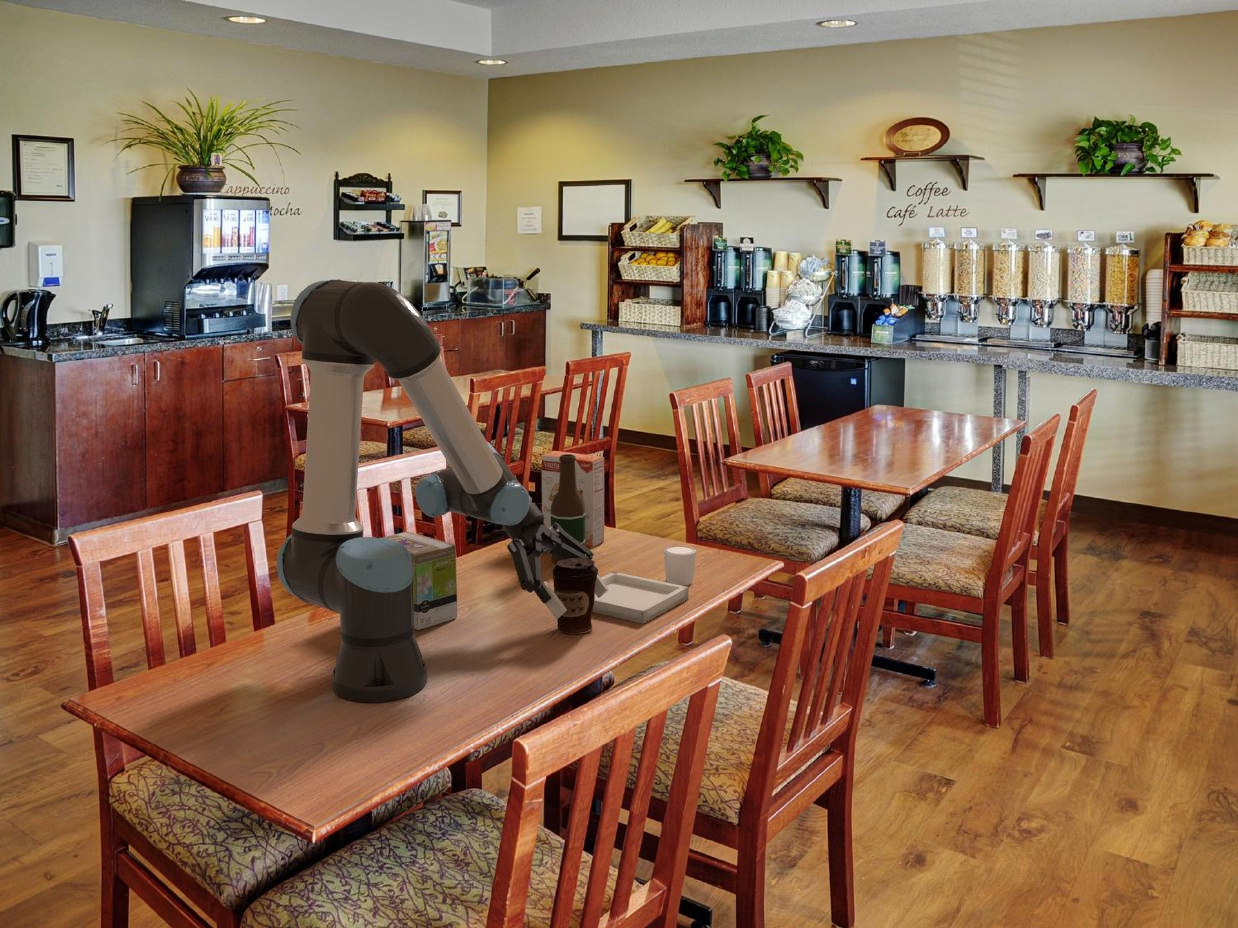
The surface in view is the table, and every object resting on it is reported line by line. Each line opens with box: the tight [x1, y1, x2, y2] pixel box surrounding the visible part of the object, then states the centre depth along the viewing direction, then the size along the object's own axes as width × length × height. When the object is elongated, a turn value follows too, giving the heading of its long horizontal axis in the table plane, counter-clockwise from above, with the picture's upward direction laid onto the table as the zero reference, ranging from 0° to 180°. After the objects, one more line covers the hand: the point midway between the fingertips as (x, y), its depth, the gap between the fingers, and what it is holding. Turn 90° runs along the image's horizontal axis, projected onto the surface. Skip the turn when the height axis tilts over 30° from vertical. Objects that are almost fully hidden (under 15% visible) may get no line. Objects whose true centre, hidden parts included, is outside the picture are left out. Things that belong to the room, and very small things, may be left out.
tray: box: [592, 571, 690, 625], centre depth 222 cm, size 17×18×2 cm
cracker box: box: [541, 450, 605, 549], centre depth 262 cm, size 14×6×21 cm, turn 61°
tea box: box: [377, 531, 458, 631], centre depth 213 cm, size 15×10×15 cm, turn 48°
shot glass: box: [663, 545, 697, 586], centre depth 234 cm, size 7×7×7 cm
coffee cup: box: [551, 558, 599, 635], centre depth 206 cm, size 9×8×13 cm
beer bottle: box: [550, 454, 587, 564], centre depth 246 cm, size 8×8×24 cm
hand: (583, 604), depth 206 cm, fingers open, 13 cm apart
